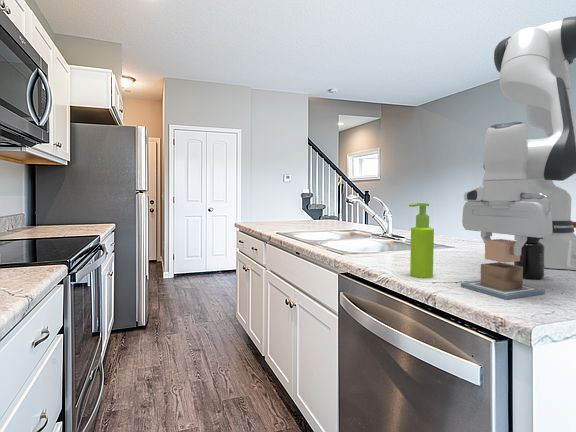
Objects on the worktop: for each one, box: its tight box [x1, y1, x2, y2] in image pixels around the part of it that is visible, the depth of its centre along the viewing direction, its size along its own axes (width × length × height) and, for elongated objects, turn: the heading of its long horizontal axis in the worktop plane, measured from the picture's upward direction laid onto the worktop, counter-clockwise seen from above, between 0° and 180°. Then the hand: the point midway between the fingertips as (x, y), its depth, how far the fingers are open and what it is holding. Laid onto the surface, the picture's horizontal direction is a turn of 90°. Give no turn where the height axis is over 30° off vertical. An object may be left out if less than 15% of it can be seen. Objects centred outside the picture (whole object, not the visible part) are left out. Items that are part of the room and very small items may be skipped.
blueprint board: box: [460, 280, 546, 301], centre depth 85 cm, size 12×12×1 cm
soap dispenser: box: [408, 202, 435, 279], centre depth 99 cm, size 6×7×20 cm
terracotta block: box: [484, 238, 520, 264], centre depth 84 cm, size 5×5×4 cm
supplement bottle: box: [513, 237, 545, 280], centre depth 98 cm, size 7×7×12 cm
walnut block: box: [480, 261, 524, 291], centre depth 84 cm, size 6×6×5 cm
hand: (502, 253), depth 84 cm, fingers closed on terracotta block, 5 cm apart
